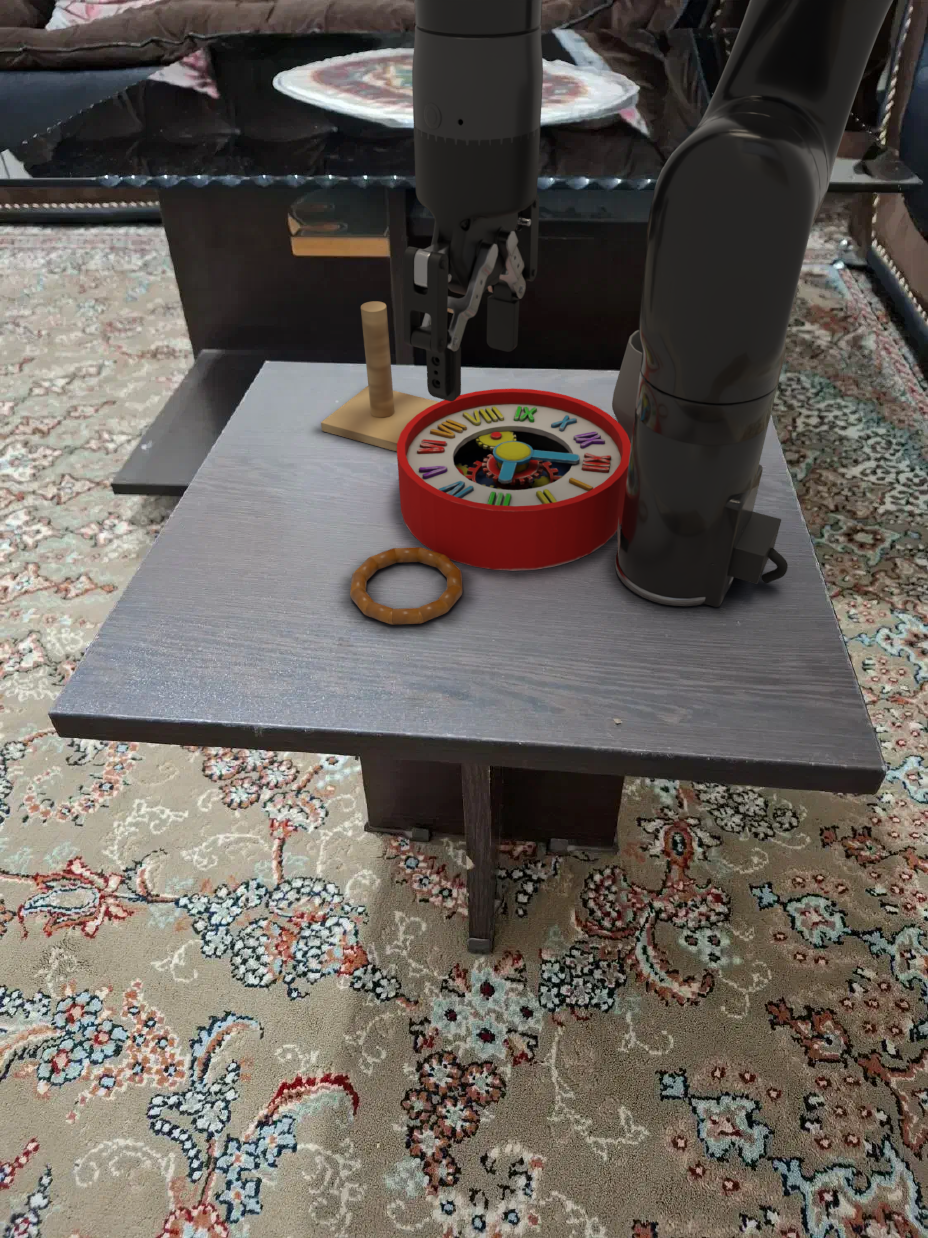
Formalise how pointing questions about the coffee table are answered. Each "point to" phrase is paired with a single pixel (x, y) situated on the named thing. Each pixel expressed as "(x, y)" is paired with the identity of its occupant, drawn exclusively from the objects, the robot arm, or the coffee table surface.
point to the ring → (406, 614)
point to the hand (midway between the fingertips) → (474, 371)
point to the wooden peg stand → (376, 391)
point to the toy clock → (513, 478)
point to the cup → (628, 385)
